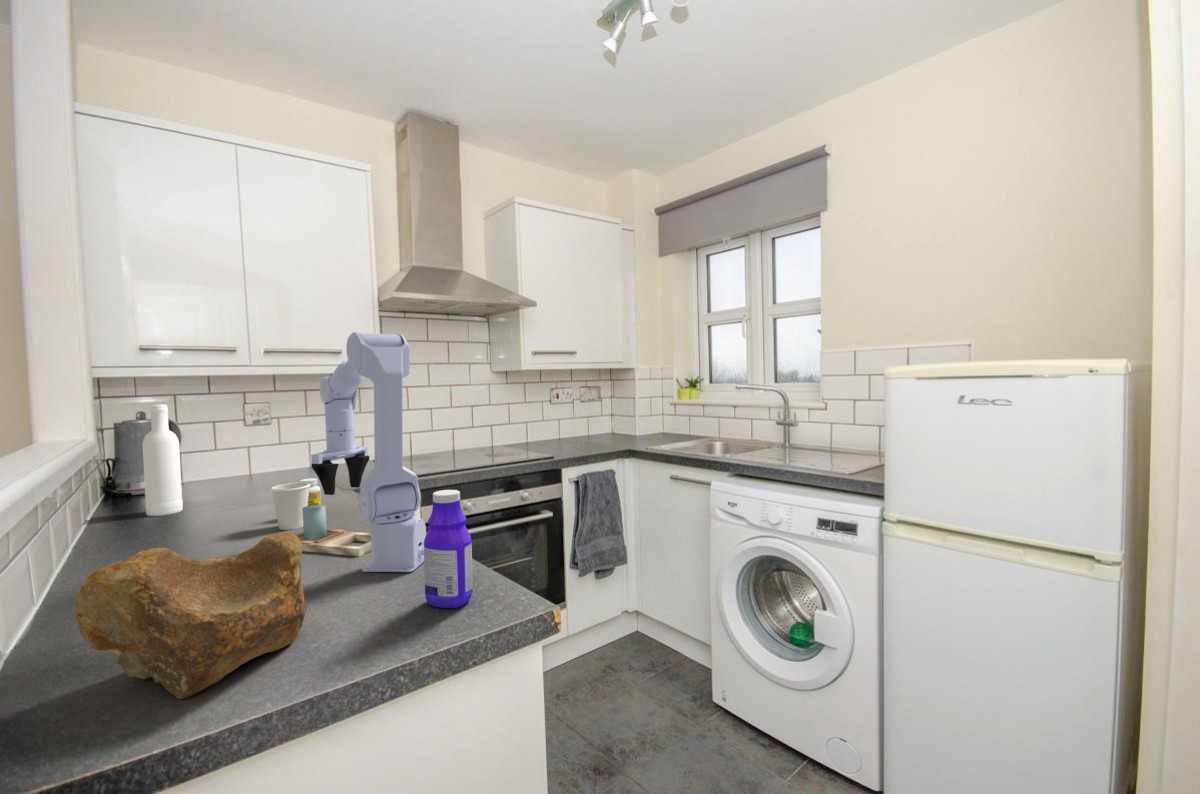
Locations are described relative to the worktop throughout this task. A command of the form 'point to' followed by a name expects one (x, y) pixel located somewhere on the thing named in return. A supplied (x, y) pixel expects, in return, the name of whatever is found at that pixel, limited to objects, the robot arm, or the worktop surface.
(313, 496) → the supplement bottle
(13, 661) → the worktop surface
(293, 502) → the dixie cup
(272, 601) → the rough brown rock
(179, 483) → the bottle
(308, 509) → the peg
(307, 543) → the wooden slot frame
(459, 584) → the bottle
